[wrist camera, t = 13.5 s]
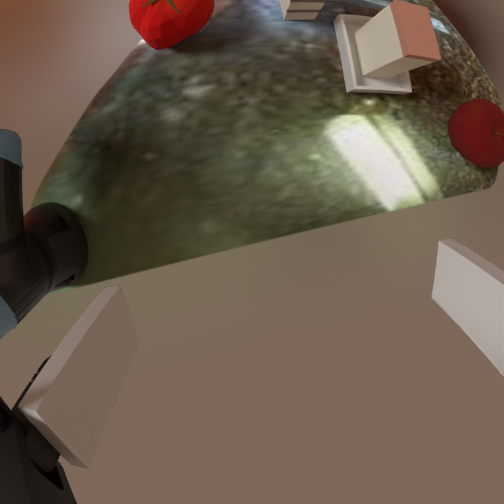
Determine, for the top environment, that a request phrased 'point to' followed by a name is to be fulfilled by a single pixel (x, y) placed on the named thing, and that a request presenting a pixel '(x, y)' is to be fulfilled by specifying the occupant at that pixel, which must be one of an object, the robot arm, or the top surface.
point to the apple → (478, 132)
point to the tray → (353, 79)
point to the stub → (396, 41)
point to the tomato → (169, 19)
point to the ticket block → (301, 9)
